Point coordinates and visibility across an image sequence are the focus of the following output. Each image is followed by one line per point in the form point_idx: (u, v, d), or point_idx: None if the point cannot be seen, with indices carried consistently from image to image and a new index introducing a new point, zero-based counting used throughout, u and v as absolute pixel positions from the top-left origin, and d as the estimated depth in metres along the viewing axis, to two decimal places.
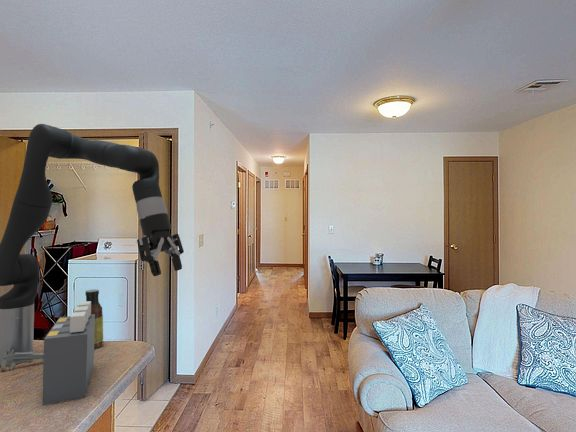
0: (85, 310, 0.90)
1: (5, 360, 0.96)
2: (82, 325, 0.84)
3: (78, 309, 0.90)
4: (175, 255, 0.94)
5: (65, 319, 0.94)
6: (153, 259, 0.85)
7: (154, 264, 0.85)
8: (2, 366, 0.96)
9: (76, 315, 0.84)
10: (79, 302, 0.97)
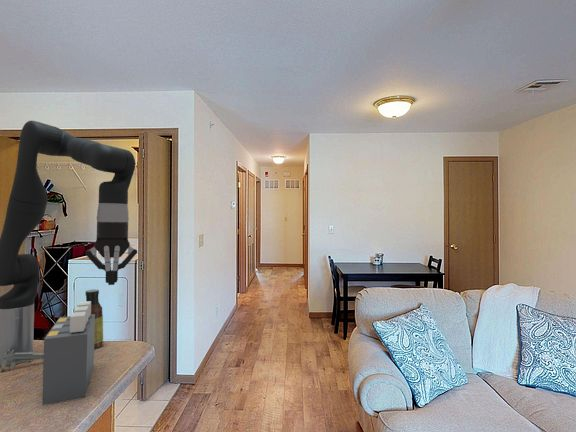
0: (85, 310, 0.90)
1: (5, 361, 0.96)
2: (82, 325, 0.84)
3: (78, 309, 0.90)
4: None
5: (65, 319, 0.94)
6: (106, 269, 0.87)
7: (106, 274, 0.88)
8: (2, 366, 0.96)
9: (76, 315, 0.84)
10: (79, 302, 0.97)
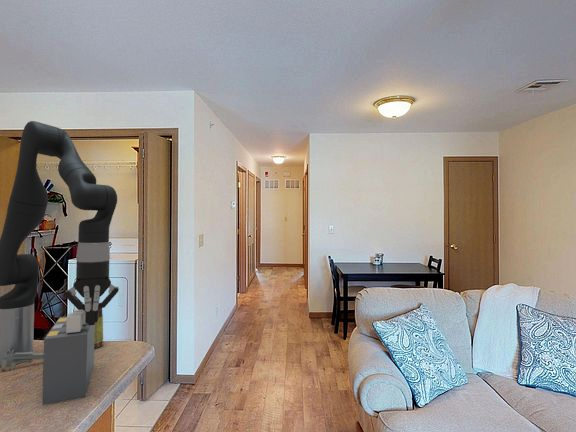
0: None
1: (6, 360, 0.96)
2: (79, 325, 0.84)
3: None
4: None
5: (65, 319, 0.94)
6: None
7: (86, 314, 0.86)
8: (2, 366, 0.96)
9: (73, 315, 0.84)
10: None
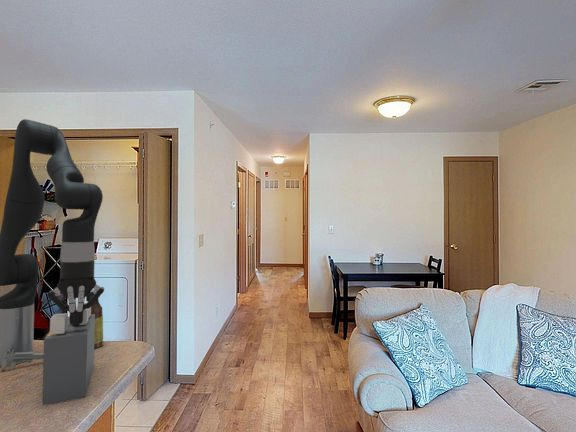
0: (85, 310, 0.90)
1: (6, 360, 0.96)
2: (63, 327, 0.82)
3: None
4: None
5: None
6: (70, 310, 0.84)
7: (71, 315, 0.84)
8: (2, 366, 0.96)
9: (57, 317, 0.83)
10: None
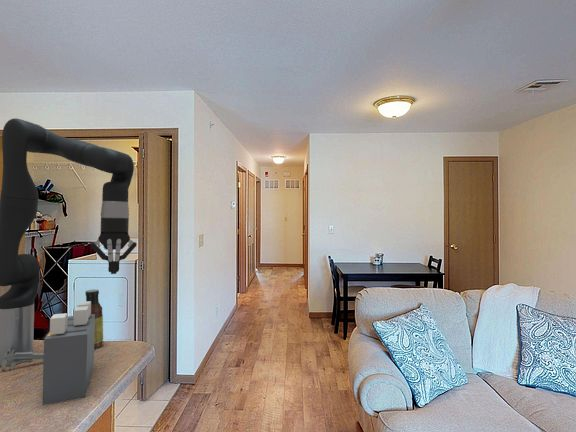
0: (85, 310, 0.90)
1: (6, 360, 0.96)
2: (63, 327, 0.82)
3: (78, 309, 0.90)
4: None
5: None
6: None
7: (109, 264, 0.99)
8: (2, 366, 0.96)
9: (57, 317, 0.83)
10: (79, 302, 0.97)
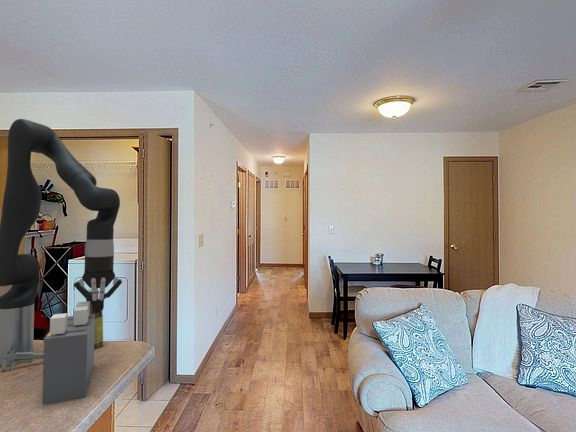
0: (85, 310, 0.90)
1: (6, 360, 0.96)
2: (63, 327, 0.82)
3: (78, 309, 0.90)
4: None
5: None
6: None
7: (93, 303, 0.97)
8: (3, 366, 0.96)
9: (57, 317, 0.83)
10: (78, 302, 0.97)
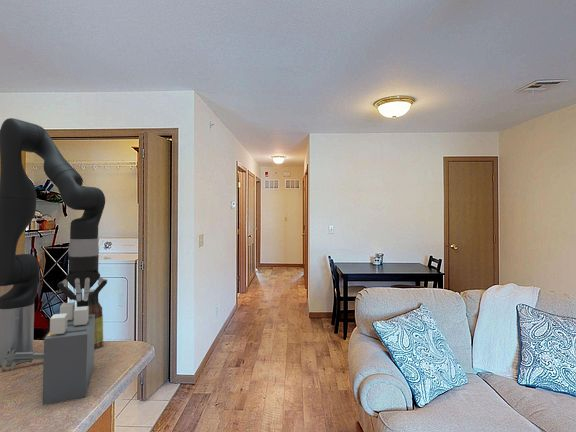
0: (85, 310, 0.90)
1: (6, 360, 0.96)
2: (63, 327, 0.82)
3: (78, 309, 0.90)
4: None
5: None
6: (77, 300, 0.95)
7: (78, 304, 0.95)
8: (3, 366, 0.96)
9: (57, 317, 0.83)
10: (62, 303, 0.95)
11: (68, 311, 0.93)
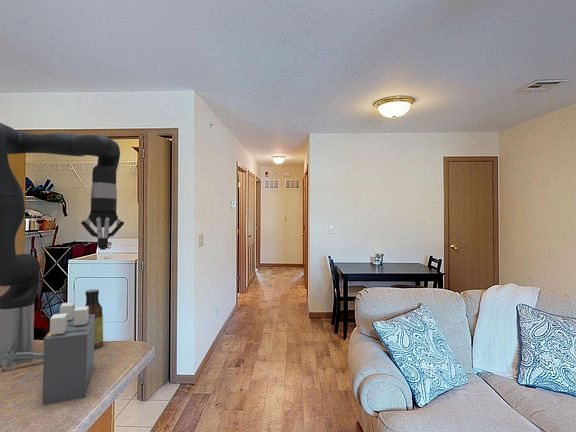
0: (85, 310, 0.90)
1: (6, 360, 0.96)
2: (63, 327, 0.82)
3: (78, 309, 0.90)
4: None
5: None
6: (98, 237, 1.07)
7: (98, 240, 1.08)
8: (3, 366, 0.96)
9: (57, 317, 0.83)
10: (62, 303, 0.95)
11: (68, 311, 0.93)
